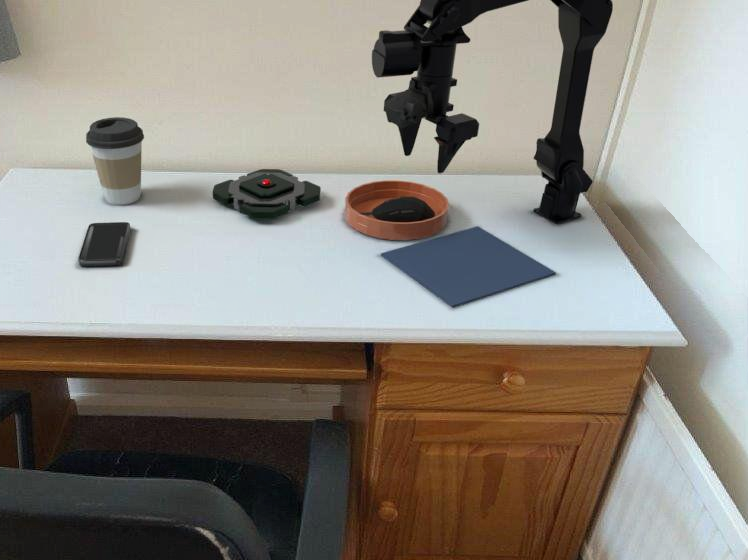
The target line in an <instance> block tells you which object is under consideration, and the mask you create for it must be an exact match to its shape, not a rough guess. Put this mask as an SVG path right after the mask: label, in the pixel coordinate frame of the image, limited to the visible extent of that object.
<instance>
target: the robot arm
mask: <svg viewBox="0 0 748 560" xmlns="http://www.w3.org/2000/svg"><path fill="white" fill-rule="evenodd" d="M549 1H550V2H551V3H552V4H553V5H554V6H556V8H557V9H558V11H557V14H558V15H557V16H558V17H557V18H558V19H557V23H558V24H557V25H558V26H557V27H558V32H559V35H560V39H561V43H562V54H561V60H560V67H559V74H558V80H557V87H556V93H555V101H554V107H553V113H552V120H551V126H550V129H549V131H548V133H546V135H545V137H544V138H542V137H539V138H537V139H536V149H535V154H534V155H533V160H535V161H536V167H537V168H538V169H539V171H540V174H541V175H540V176H541V177H542V178H543V179H545V180H546V181H548V182H547V183H546V184H545V187H544V191H543V192H542V195H541V200H540V204H539V207H535V208H533V210H532V212H533V213H534V214H537V215H538V216H540V217H542V218H544V219H545V220H548V221H549V222H552V223H553V224H556V225H558V224H562V223H566V222H569V221H572V220H576V219H579V218H581V217H582V214H581V213H580V212H578V211H577V206H578V203H579V199H580V195H581V194H582V193H587V192H588V191H589V189H591V186H592V185H593V183H594V181H593V179H592V178H591V177H590V176H589V174H588V173H587V172H586V171H585V169H584V166H585V148H584V144H583V142H582V138H581V133H580V132H581V131H580V130H581V125H582V119H583V114H584V107H585V103H586V96H587V91H588V85H589V79H590V74H591V69H592V63H593V58H594V57H593V56H594V51H595V48H596V46H598V44H599V43H600V41H601V40H602V39H603V37H604V36H605V34H606V33H607V29H608V27H609V24H610V20H611V18H612V14H613V10H614V4H613V0H549ZM525 2H529V0H420V1H419V5H418V6H417V8H416V9H415V11H414V12H413V13H412V14H411V16H410V17H409V18H408V20H407V22H406V23H405V25H404V26H403V30H388V29H387V30H386V29H385V30H380V31H379V32H378V39H376V41H375V43H374V46H373V49H372V50H371V67H372V71H373V75H375V77H376V78H390V77H401V76H411V75H413V74H414V73H415V72H417V73H416V76H412V77H411V78H410V80H409V83H408V88H407V89H405V90H403V91H399V92H398V91H397V92H394V93H388V95H387V96H386V98H385V99H384V101H383V112H385V116H386V120H387V123H390V124H391V123H392V124H394V125H396V126H397V127H398V132H399V136H400V141H401V146H402V149H403V154H404V156H405V157H409V156H411V155H412V153H413V150H414V147H415V143H416V140H417V137H418V133H419V130H420V126H421V123H422V120H426V121H428V122H429V123H432V124H434V125H436V126H435V133H436V135H437V136H434V137H433V139H434V140H435V142H436V143H437V144H438V152H437V153H438V154H437V167H436V169H437V170H436V171H437V172H436V173H438V174H443V173H445V171H446V169H447V168H448V167H449V165H450V163H451V162H452V160H453V159H454V157H455V156H456V154H457V153H458V151H460V149H461V148H462V146H463V145H464V144H465V143H466V141H470V140H472V139H473V138H477V137H478V135H479V129H480V122H479V121H478V120H477V119H476V118H475V117H472V116H470V115H467V114H466V113H463V112H461V113H457V114H452V115H448V114H447V113H451V112H453V111H454V106H455V105H454V104H453V103H450V96H451V88H452V87H457V85H458V79H457V78H455V77H453V74H454V67H455V60H456V52H457V45H459V44H469V43H470V42H471V38H470V37H469V36H468V34H466V32H465V31H464V28H463V27H464V26H467V25H468V24H471V23H472V22H474V20H476V19H477V18H478V17H479V16H481V15H483V14H485V13H488V12H491V11H495V10H498V9H502V8H506V7H510V6H513V5H517V4H521V3H525ZM426 24H429V26H426Z"/></svg>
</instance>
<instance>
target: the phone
mask: <svg viewBox="0 0 748 560" xmlns="http://www.w3.org/2000/svg"><path fill="white" fill-rule="evenodd" d="M131 230H132V229H131V224H130V222H127V221H119V222H118V221H117V222H113V221H112V222H111V221H110V222H93V223H92V222H91V223H89V224H88V226H87V230H86V233H85V237H84V240H83V243H82V245H81V248H80V252H79V256H78V258H77V259H78V264H79V266H80V267H82V268H84V267H85V268H88V267H118V266H121V265H123V264H124V263H125V262H124V261H125V258H126V253H127V247H128V243H129V240H130V234H131Z"/></svg>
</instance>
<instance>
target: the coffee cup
mask: <svg viewBox="0 0 748 560" xmlns="http://www.w3.org/2000/svg"><path fill="white" fill-rule="evenodd" d="M144 139H145V134H144V131H143V128H141V127H140V126H139V125H138V122H137V121H135V120H134V119H132V118H129V117H128V118H127V117H122V116H121V117H119V116H115V117H107V118H101V119H98V120H96V121H94V122H92V123H91V124H90V125H89V130H88V131H87V132H86V133H85V142H86V144H87V145H88V146H89V147H90V151H91V156H92V159H93V162H94V166H95V169H96V170H95V171H96V172H97V177H98V179H99V184H100V187H101V191H102V195H103V197H104V199H105V201H106V203H108V204H110V205H115V206H126V205H131V204H133V203H136V202H138V201H139V200H140V199H141V193H142V147H143V146H142V143H143V140H144Z"/></svg>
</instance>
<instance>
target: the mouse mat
mask: <svg viewBox="0 0 748 560" xmlns="http://www.w3.org/2000/svg"><path fill="white" fill-rule="evenodd" d="M380 256H381V257H383V259H385V260H386V261H388V262H389V263H391V264H392V265H393V266H395V267H396V268H398V269H399V270H400V271H401V272H403V273H404V274H406V275H407V276H408V277H409V278H411V279H412V280H414V281H416V282H417V283H418V284H419V285H421V286H422V287H423V288H425V289H426V290H427V291H429V292H430V293H432V294H433V295H434V296H436V297H437V298H438V299H440V300H441V301H442V302H444V303H445V304H447V305H448V306H450V307H451V308H456V307H459V306H462V305H466V304H468V303H471V302H474V301H478V300H480V299H483V298H484V299H485V298H486V297H490V296H494V295H495V294H500V293H502V292H505V291H508V290H509V291H510V290H511V289H515V288H518V287H521V286H524V285H527V284H530V283H534V282H537V281H539V280H542V279H545V278H548V277H551V276H555V275H556V274H557V272H556V271H554V270H553V269H551V268H550V267H548V266H547V265H546V266H545V265H544V264H543V263H540V261H537V260H536V259H534V258H533V257H531V256H529V255H527V254H526V253H524V252H522V251H520V250H519V249H517V248H515V247H514V246H512V245H510V244H509V243H507V242H506V241H503V240H502V239H500V238H498V237H497V236H495V235H493V234H492V233H490V232H488V231H487V230H485V229H483V228H481V227H480V226H473V227H470V228H467V229H464V230H463V229H462V230H459V231H456V232H453V233H448V234H445V235H441V236H438V237H434V238H431V239H428V240H427V239H426V240H423V241H420V242H417V243H413V244H410V245H406V246H403V247H398V248H396V249H395V248H394V249H391V250H388V251H385V252H381V253H380Z"/></svg>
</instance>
